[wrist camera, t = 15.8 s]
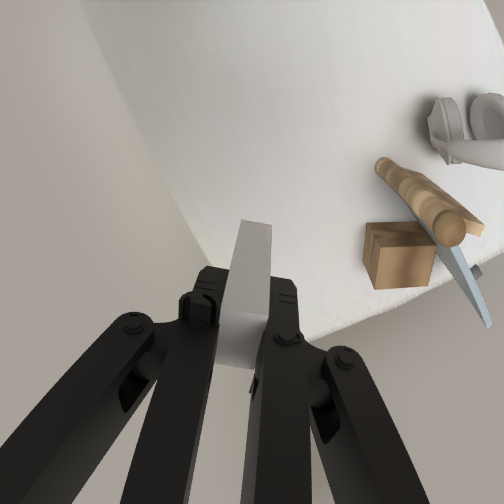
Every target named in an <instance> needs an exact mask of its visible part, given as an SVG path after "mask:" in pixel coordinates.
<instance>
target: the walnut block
mask: <svg viewBox="0 0 504 504" xmlns="http://www.w3.org/2000/svg"><path fill="white" fill-rule="evenodd" d="M436 249H437V245H436V243H435V242H434V241H433V240H432V238H431V237H430V236H429V235H428V234H427V232H426V231H425V230H424V229H423V228H422V226H421V225H420V224H419V223H418V222H380V223H367V224H366V235H365V246H364V256H363V263H364V265H365V268H366V270H367V272H368V275H369V277H370V280H371V282H372V285H373V287H374V290H378V289H393V288H407V287H420V286H428V283H429V279H430V275H431V271H432V267H433V263H434V258H435V254H436Z"/></svg>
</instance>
